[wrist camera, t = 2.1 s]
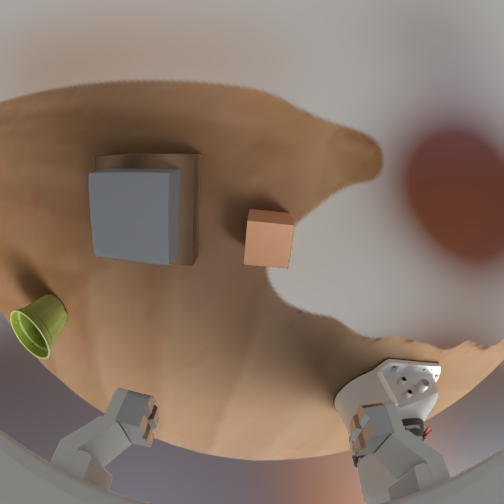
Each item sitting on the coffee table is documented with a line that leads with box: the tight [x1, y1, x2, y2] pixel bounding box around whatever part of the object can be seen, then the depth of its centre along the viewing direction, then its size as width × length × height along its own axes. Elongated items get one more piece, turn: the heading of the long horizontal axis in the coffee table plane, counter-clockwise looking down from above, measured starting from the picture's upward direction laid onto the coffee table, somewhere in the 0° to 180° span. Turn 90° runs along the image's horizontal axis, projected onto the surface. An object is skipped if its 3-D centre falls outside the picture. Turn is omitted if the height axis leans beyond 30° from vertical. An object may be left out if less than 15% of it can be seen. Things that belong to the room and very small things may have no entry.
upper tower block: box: [88, 169, 180, 266], centre depth 26 cm, size 9×9×4 cm
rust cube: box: [244, 209, 295, 268], centre depth 29 cm, size 4×4×5 cm
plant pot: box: [10, 294, 67, 359], centre depth 33 cm, size 9×9×9 cm
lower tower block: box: [95, 153, 202, 266], centre depth 29 cm, size 12×12×4 cm
